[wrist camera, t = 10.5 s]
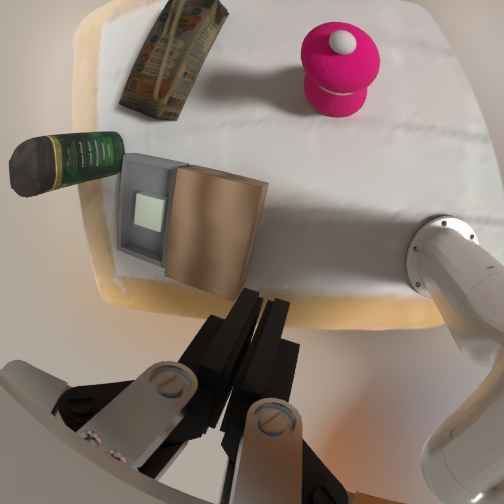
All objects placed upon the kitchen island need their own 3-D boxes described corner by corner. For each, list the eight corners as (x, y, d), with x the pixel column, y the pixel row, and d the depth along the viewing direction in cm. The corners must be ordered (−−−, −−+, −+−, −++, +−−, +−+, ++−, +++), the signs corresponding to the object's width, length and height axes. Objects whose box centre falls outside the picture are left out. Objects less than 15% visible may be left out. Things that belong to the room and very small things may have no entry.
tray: (188, 163, 39) (178, 165, 36) (174, 261, 45) (165, 268, 42) (135, 153, 40) (123, 154, 37) (127, 243, 47) (117, 249, 44)
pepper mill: (316, 126, 33) (307, 101, 15) (299, 76, 31) (269, 8, 13) (369, 114, 30) (416, 80, 12) (351, 64, 28) (372, -11, 10)
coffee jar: (125, 126, 39) (32, 131, 22) (129, 173, 42) (38, 197, 25) (87, 137, 41) (2, 149, 25) (91, 179, 44) (8, 203, 27)
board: (268, 183, 37) (260, 188, 32) (243, 284, 43) (233, 301, 39) (194, 165, 39) (177, 168, 34) (180, 262, 45) (164, 275, 40)
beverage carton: (234, 13, 29) (218, -6, 23) (179, 124, 37) (155, 122, 31) (190, 5, 29) (169, -11, 23) (140, 109, 38) (113, 106, 32)
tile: (136, 193, 40) (144, 191, 41) (134, 223, 42) (141, 220, 43) (163, 200, 39) (170, 197, 41) (160, 232, 41) (166, 228, 43)
